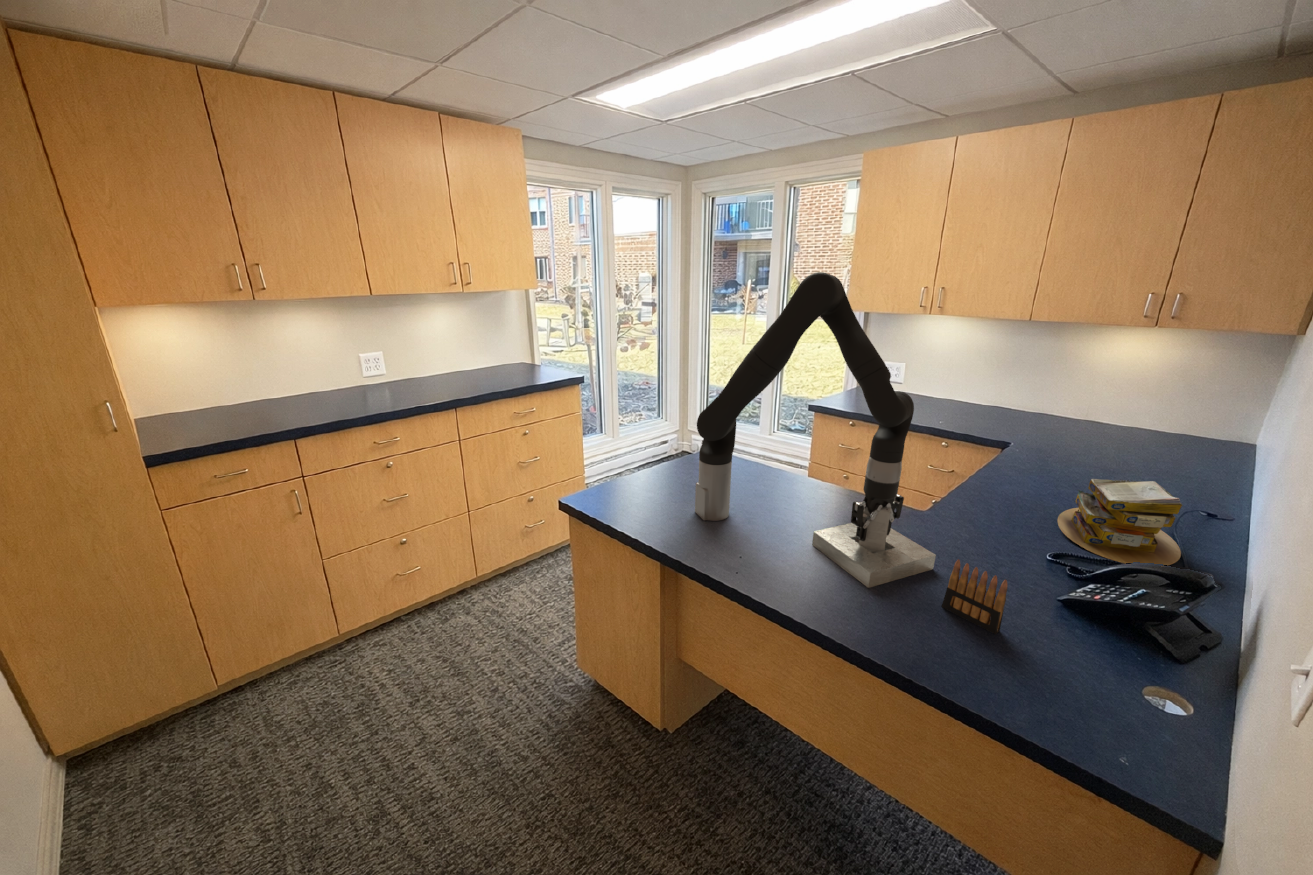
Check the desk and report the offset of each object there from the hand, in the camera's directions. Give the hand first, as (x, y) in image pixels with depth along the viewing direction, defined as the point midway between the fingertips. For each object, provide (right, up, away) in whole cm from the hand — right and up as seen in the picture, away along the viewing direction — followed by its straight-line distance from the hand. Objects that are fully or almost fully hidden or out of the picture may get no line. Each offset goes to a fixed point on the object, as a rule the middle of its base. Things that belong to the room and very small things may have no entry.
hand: (872, 536), depth 126 cm
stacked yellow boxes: (+68, -3, +9) cm, 69 cm away
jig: (0, -5, +2) cm, 6 cm away
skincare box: (0, -3, +1) cm, 4 cm away
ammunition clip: (+12, -13, -20) cm, 27 cm away
